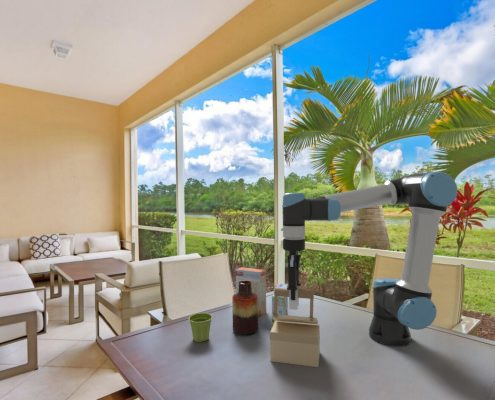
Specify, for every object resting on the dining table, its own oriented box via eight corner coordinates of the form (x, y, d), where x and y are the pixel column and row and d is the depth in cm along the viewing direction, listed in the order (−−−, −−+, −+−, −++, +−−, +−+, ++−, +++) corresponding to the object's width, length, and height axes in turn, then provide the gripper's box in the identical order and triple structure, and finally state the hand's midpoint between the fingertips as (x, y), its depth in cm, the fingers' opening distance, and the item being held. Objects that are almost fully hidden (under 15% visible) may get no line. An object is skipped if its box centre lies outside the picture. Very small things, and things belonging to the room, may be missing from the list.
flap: (318, 324, 114) (318, 297, 118) (315, 319, 101) (316, 289, 105) (276, 320, 118) (278, 294, 122) (269, 315, 105) (271, 286, 109)
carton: (319, 352, 114) (319, 324, 114) (318, 367, 104) (318, 337, 104) (275, 347, 118) (275, 320, 118) (270, 361, 108) (269, 332, 108)
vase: (262, 333, 131) (261, 283, 130) (237, 337, 127) (237, 286, 126) (252, 323, 141) (251, 277, 141) (229, 327, 137) (228, 280, 137)
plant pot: (206, 345, 120) (206, 323, 120) (184, 342, 123) (184, 320, 123) (216, 335, 129) (216, 314, 129) (196, 332, 132) (195, 311, 132)
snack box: (284, 333, 130) (284, 297, 130) (271, 332, 131) (270, 296, 131) (288, 314, 151) (288, 283, 151) (276, 314, 152) (276, 282, 152)
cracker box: (266, 312, 154) (266, 269, 153) (260, 316, 149) (260, 272, 148) (242, 307, 161) (242, 266, 161) (235, 311, 156) (235, 268, 156)
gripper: (286, 235, 117) (286, 299, 117) (279, 240, 101) (279, 314, 101) (306, 235, 115) (307, 300, 115) (302, 241, 99) (303, 316, 99)
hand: (294, 307), depth 108 cm, fingers open, 3 cm apart
